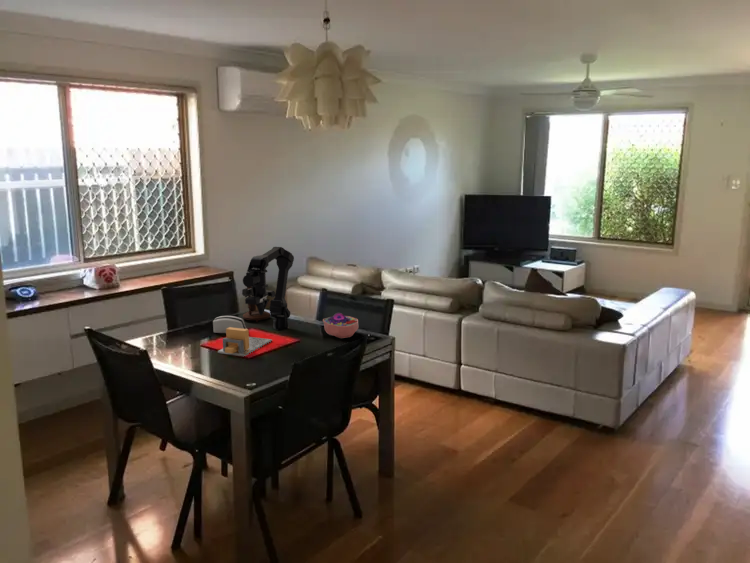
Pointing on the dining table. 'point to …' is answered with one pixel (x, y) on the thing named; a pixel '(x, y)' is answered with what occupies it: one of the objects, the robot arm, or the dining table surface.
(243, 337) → the tan chunky block
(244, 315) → the brown round-based stand
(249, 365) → the dining table surface
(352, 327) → the cell model
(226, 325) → the grey napkin holder
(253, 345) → the baseplate
